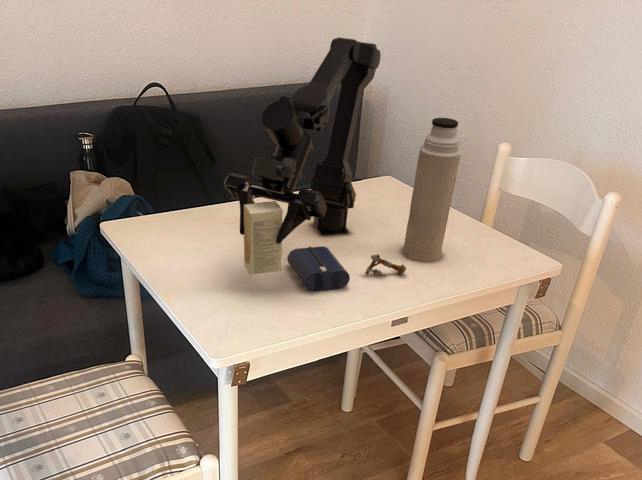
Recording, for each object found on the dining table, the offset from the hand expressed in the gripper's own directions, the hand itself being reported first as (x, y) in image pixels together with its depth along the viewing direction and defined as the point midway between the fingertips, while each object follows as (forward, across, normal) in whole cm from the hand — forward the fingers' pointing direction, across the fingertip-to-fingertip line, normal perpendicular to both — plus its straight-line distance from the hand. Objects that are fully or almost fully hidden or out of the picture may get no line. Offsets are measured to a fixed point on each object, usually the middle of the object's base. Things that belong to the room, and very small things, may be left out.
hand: (259, 238), depth 121 cm
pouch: (0, +7, +16) cm, 18 cm away
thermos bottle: (-16, +22, +32) cm, 42 cm away
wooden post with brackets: (-6, +19, +22) cm, 30 cm away
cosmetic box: (+4, 0, +6) cm, 7 cm away
